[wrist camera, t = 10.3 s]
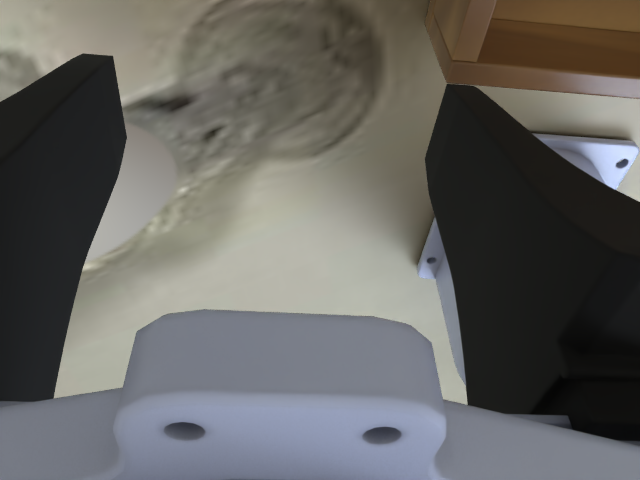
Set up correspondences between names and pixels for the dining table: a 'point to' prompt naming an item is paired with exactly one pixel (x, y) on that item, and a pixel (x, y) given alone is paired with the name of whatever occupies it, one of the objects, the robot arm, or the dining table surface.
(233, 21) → the dining table surface
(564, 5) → the wooden box
